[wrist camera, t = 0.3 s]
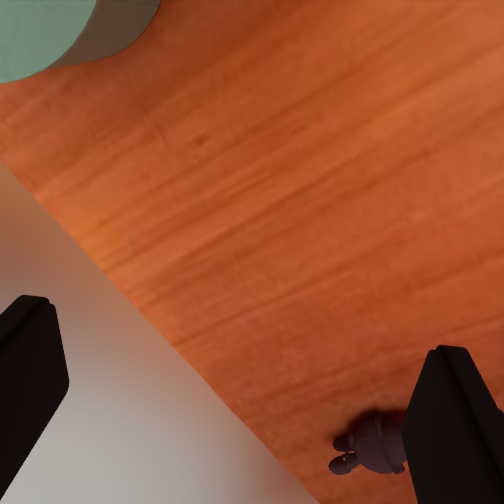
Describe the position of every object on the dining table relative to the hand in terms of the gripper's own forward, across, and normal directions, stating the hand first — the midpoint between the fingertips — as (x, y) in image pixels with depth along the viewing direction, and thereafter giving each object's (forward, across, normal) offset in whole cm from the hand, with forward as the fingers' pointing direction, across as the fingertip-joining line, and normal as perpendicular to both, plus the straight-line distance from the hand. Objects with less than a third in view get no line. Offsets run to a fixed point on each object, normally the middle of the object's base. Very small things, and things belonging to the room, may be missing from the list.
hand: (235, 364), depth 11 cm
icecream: (+31, -17, +37) cm, 51 cm away
